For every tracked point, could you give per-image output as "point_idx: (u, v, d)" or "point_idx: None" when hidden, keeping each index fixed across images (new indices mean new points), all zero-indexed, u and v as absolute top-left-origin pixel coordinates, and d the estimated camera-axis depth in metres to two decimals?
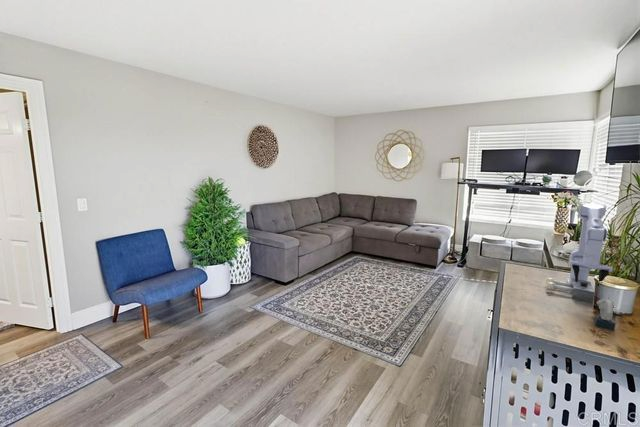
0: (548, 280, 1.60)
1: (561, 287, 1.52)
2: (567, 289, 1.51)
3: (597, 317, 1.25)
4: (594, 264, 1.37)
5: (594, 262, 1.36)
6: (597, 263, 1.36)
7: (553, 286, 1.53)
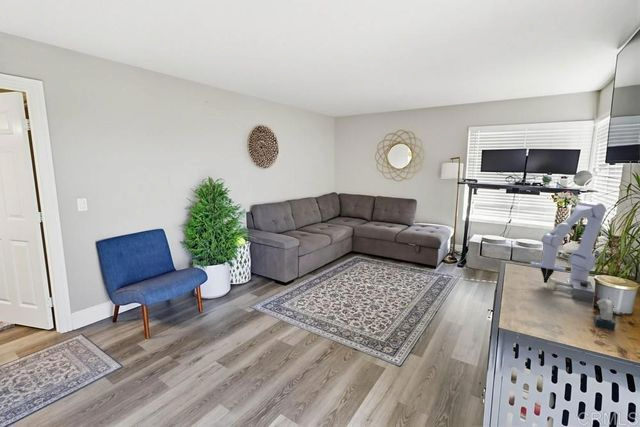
0: (550, 280, 1.60)
1: (561, 287, 1.52)
2: (567, 289, 1.51)
3: (597, 317, 1.24)
4: (550, 265, 1.58)
5: (550, 264, 1.58)
6: (553, 264, 1.58)
7: (553, 286, 1.53)
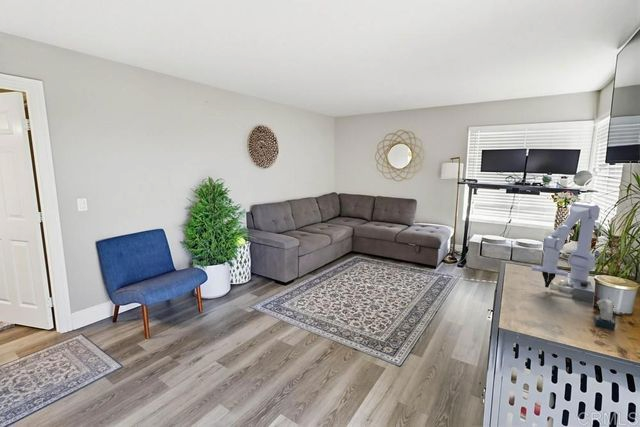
0: (560, 282, 1.57)
1: (565, 288, 1.52)
2: (571, 290, 1.50)
3: (597, 317, 1.24)
4: (552, 269, 1.52)
5: (552, 268, 1.52)
6: (554, 269, 1.52)
7: (557, 287, 1.53)
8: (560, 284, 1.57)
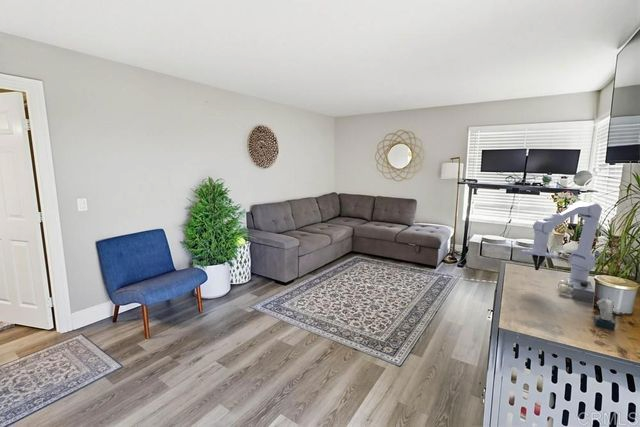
0: (560, 282, 1.57)
1: None
2: None
3: (597, 317, 1.25)
4: (541, 252, 1.55)
5: (541, 250, 1.55)
6: (544, 251, 1.55)
7: (566, 289, 1.51)
8: None
